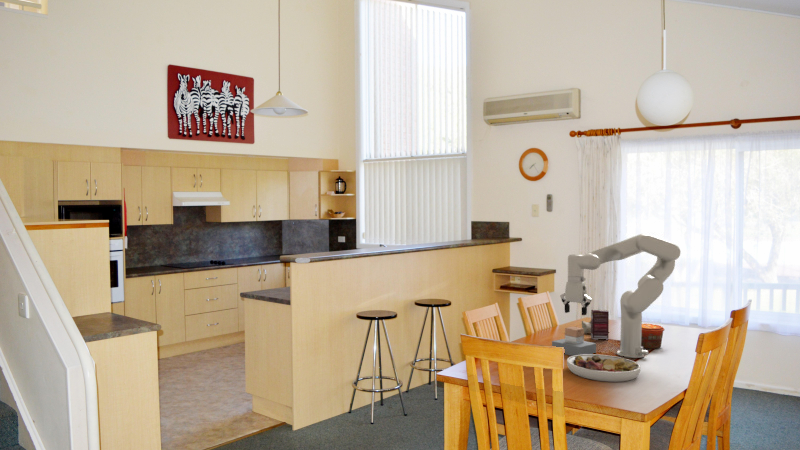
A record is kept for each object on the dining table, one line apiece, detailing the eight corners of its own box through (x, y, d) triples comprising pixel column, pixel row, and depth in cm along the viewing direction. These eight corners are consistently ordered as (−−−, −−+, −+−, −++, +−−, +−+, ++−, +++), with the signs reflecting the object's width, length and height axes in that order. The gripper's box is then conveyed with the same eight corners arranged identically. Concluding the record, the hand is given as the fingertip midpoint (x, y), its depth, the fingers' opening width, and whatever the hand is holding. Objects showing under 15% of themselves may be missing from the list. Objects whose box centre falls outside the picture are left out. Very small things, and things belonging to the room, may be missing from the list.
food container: (624, 344, 308) (624, 324, 308) (645, 341, 315) (645, 322, 315) (649, 351, 294) (650, 330, 294) (670, 348, 301) (671, 327, 301)
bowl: (582, 361, 272) (582, 344, 272) (649, 373, 253) (649, 355, 253) (555, 374, 249) (555, 356, 248) (626, 389, 230) (627, 369, 229)
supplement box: (606, 338, 323) (606, 309, 323) (608, 340, 318) (609, 311, 318) (590, 337, 324) (591, 309, 323) (592, 339, 319) (593, 310, 319)
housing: (583, 342, 288) (584, 328, 288) (576, 344, 284) (576, 330, 284) (572, 340, 293) (572, 326, 293) (564, 341, 289) (565, 328, 289)
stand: (596, 353, 287) (596, 343, 287) (579, 357, 278) (579, 347, 278) (568, 347, 299) (568, 337, 299) (551, 351, 290) (552, 341, 290)
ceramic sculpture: (580, 316, 341) (607, 319, 339) (579, 331, 341) (605, 333, 339) (583, 319, 330) (610, 322, 328) (581, 334, 331) (609, 337, 328)
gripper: (595, 280, 283) (595, 315, 284) (565, 277, 297) (565, 310, 297) (586, 281, 279) (586, 316, 279) (556, 278, 292) (556, 312, 292)
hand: (575, 313), depth 288 cm, fingers open, 9 cm apart
